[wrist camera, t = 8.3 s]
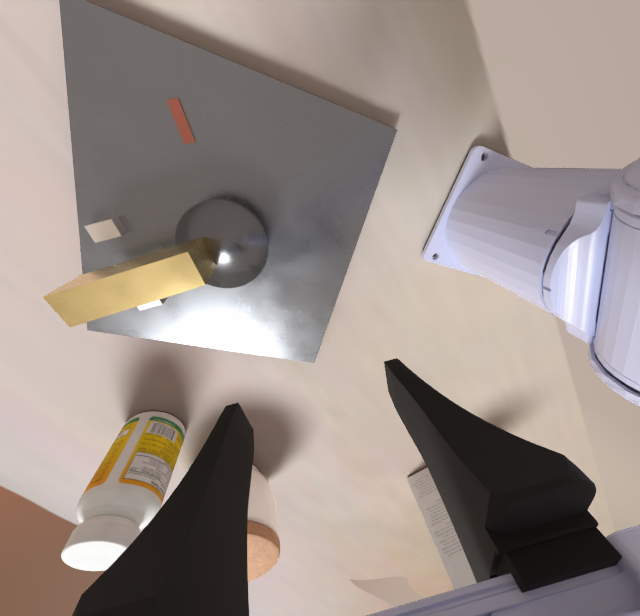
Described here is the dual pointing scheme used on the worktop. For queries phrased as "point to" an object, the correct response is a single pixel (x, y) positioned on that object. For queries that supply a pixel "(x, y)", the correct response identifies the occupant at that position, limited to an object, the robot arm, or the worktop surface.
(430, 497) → the skincare box
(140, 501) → the supplement bottle
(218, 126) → the base plate
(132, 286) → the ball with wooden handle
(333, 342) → the worktop surface
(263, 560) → the lidded jar
